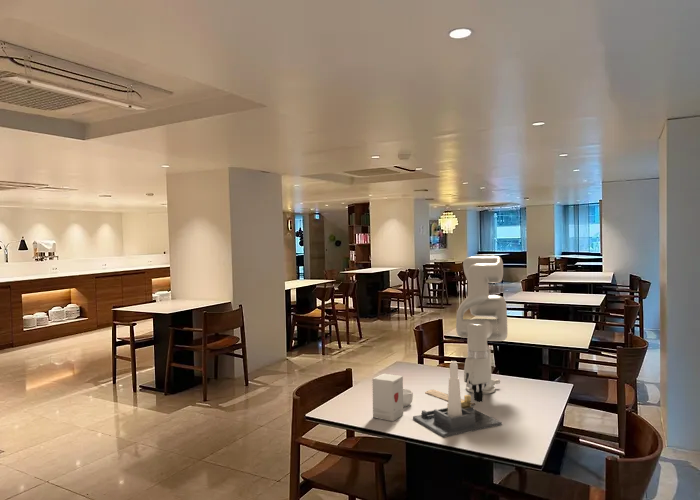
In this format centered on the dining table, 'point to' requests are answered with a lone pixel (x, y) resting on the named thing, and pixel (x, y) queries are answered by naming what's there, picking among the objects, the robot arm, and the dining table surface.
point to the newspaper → (440, 395)
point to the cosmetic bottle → (454, 392)
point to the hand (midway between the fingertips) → (478, 400)
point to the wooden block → (466, 402)
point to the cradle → (455, 421)
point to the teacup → (407, 397)
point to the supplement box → (388, 397)
